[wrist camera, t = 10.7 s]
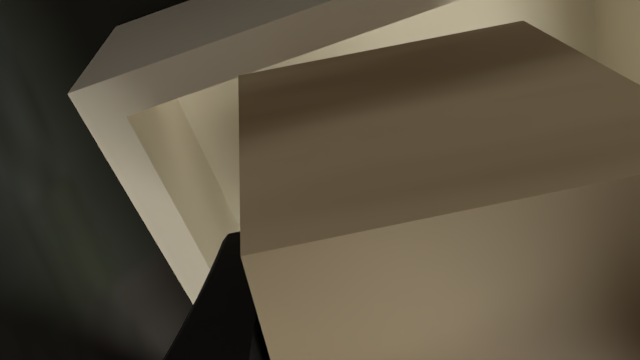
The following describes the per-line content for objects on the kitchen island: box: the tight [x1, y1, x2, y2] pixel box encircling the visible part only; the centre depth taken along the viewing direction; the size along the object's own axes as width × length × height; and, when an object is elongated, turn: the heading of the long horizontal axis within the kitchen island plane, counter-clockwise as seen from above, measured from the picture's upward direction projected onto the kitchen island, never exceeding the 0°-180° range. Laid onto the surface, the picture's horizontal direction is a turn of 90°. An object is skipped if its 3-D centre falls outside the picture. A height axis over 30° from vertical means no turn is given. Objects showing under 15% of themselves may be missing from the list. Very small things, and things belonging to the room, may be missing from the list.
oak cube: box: [238, 21, 640, 360], centre depth 9 cm, size 5×5×5 cm
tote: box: [67, 0, 640, 304], centre depth 17 cm, size 18×14×5 cm
